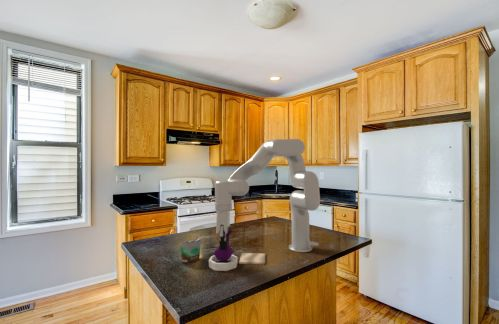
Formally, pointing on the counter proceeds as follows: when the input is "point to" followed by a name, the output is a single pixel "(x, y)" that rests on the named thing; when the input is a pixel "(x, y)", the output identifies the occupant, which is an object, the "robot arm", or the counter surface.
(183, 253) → the food container
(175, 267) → the counter surface
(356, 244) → the counter surface
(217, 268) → the holder ring
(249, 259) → the coaster board
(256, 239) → the counter surface
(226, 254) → the perfume bottle
